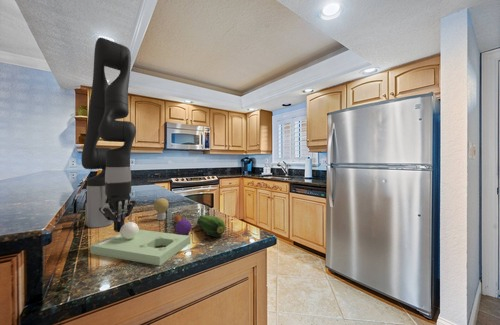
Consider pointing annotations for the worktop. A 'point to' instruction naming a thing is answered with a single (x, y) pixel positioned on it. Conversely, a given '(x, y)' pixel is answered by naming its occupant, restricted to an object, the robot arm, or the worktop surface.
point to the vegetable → (211, 225)
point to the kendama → (182, 225)
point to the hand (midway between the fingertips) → (119, 231)
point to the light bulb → (161, 208)
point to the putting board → (142, 247)
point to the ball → (129, 230)
